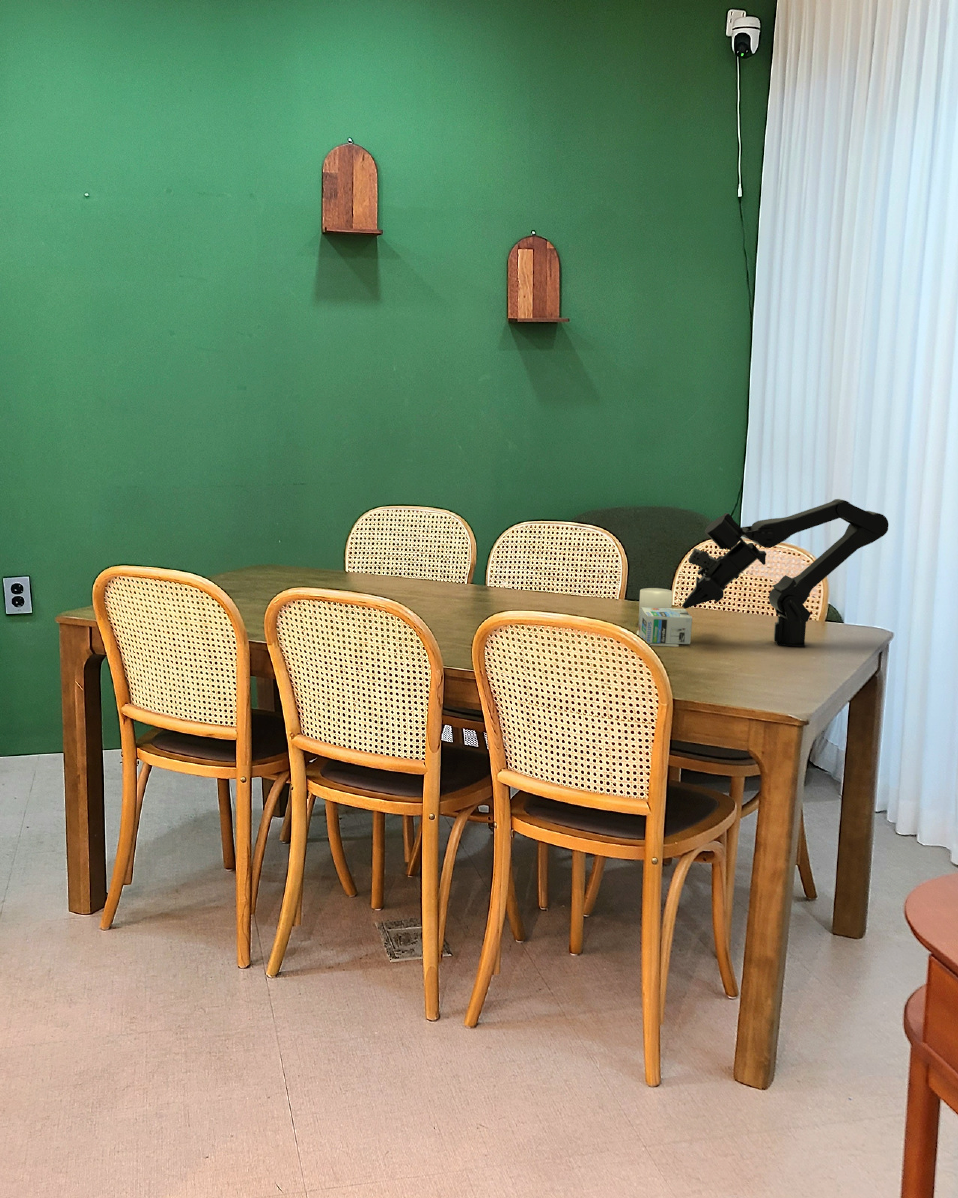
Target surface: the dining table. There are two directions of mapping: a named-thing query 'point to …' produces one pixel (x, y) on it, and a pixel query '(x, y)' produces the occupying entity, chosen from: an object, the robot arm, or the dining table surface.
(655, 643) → the mat
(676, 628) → the light bulb box
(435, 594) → the dining table surface
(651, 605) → the cream rounded cylinder
